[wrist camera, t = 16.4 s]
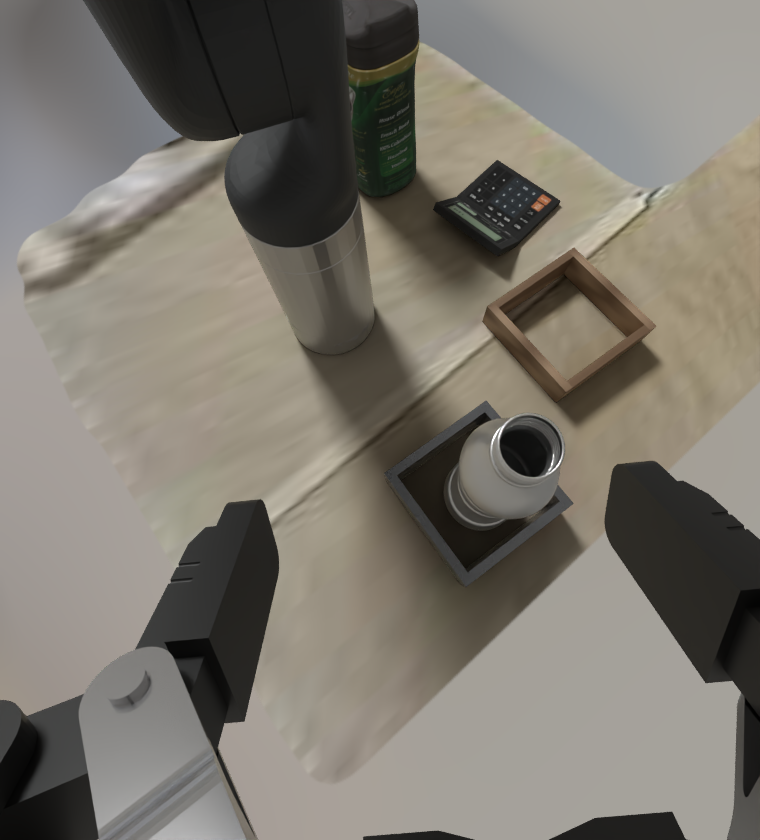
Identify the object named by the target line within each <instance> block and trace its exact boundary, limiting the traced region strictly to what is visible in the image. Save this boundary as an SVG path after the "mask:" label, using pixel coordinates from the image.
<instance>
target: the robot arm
mask: <svg viewBox="0 0 760 840" xmlns="http://www.w3.org/2000/svg"><path fill="white" fill-rule="evenodd" d="M83 1H84V2H85V4H86V6H87V7H88V8H89V10H90V12H91V13H92V15H93V16H94V18H95V20H96V21H97V23H98V25H99V26H100V28H101V29H102V31H103V33H104V34H105V36H106V37H107V39H108V41H109V42H110V44H111V45H112V47H113V48H114V50H115V52H116V53H117V55H118V57H119V58H120V60H121V61H122V63H123V64H124V66H125V67H126V69H127V70H128V72H129V73H130V75H131V76H132V78H133V79H134V81H135V82H136V84H137V85H138V87H139V89H140V90H141V91H142V93H143V95H144V96H145V97H146V99H147V100H148V101H149V103H150V104H151V105H152V107H153V108H154V109H155V110H156V112H157V113H158V114H159V115H160V116H161V117H162V118H163V120H165V121H166V122H167V123H168V124H169V125H170V126H171V127H172V128H173V129H174V130H175V131H177V132H178V133H179V134H181V135H182V136H184V137H186V138H188V139H191V140H195V141H218V140H225V139H229V138H233V137H237V136H239V134H240V133H241V134H242V135H244V134H245V135H244V136H243V137H242V138H241V139H240V140H239V141H238V143H237V144H236V145H235V147H234V148H233V150H232V152H231V154H230V156H229V158H228V161H227V164H226V168H225V176H224V178H225V188H226V193H227V196H228V199H229V201H230V204H231V206H232V208H233V210H234V212H235V214H236V216H237V218H238V220H239V222H240V224H241V226H242V228H243V230H244V232H245V234H246V236H247V238H248V240H249V242H250V244H251V246H252V248H253V250H254V252H255V254H256V256H257V258H258V260H259V262H260V264H261V266H262V268H263V270H264V272H265V274H266V276H267V278H268V280H269V282H270V284H271V286H272V288H273V290H274V292H275V294H276V296H277V298H278V301H279V303H280V305H281V307H282V309H283V311H284V313H285V315H286V317H287V319H288V321H289V323H290V325H291V327H292V329H293V331H294V333H295V335H296V337H297V338H298V340H299V341H300V342H301V343H302V344H303V345H304V346H305V347H306V348H308V349H310V350H312V351H314V352H317V353H320V354H328V355H333V354H341V353H344V352H347V351H350V350H352V349H354V348H355V347H357V346H358V345H359V344H361V343H362V342H363V341H364V340H365V339H366V337H367V336H368V335H369V333H370V331H371V329H372V327H373V323H374V304H373V297H372V288H371V280H370V272H369V265H368V257H367V250H366V242H365V234H364V227H363V219H362V213H361V205H360V197H359V190H358V181H357V174H356V161H355V152H354V143H353V134H352V122H351V110H350V95H349V78H348V61H347V46H346V34H345V24H344V13H343V3H342V0H83ZM605 529H606V534H607V537H608V539H609V542H610V543H611V546H612V547H613V549H614V550H615V551H616V553H617V554H618V556H619V557H620V559H621V560H622V562H623V563H624V564H625V566H626V568H627V569H628V571H629V572H630V573H631V575H632V576H633V578H634V579H635V581H636V582H637V584H638V585H639V587H640V588H641V589H642V591H643V592H644V594H645V595H646V597H647V598H648V600H649V601H650V602H651V604H652V605H653V607H654V608H655V610H656V611H657V613H658V614H659V615H660V617H661V619H662V620H663V622H664V623H665V624H666V626H667V627H668V629H669V630H670V632H671V633H672V635H673V636H674V637H675V639H676V640H677V642H678V643H679V645H680V646H681V648H682V649H683V651H684V652H685V654H686V655H687V657H688V658H689V659H690V661H691V662H692V664H693V665H694V667H695V668H696V670H697V671H698V673H699V674H700V676H701V677H702V678H703V680H704V681H705V683H713V682H724V681H733V682H734V683H735V685H736V686H737V687H738V689H739V690H740V691H741V695H740V697H739V700H738V704H737V729H736V731H737V732H736V761H735V792H734V793H735V794H734V810H733V816H732V821H731V826H730V829H729V833H728V837H727V840H760V539H758V538H757V537H756V536H755V535H754V534H753V533H752V532H750V531H749V530H748V529H746V530H745V529H744V525H743V524H741V523H740V522H739V521H738V520H737V519H736V518H735V517H734V516H733V515H729V514H728V511H727V510H726V509H725V508H724V507H723V506H721V505H720V504H719V503H718V502H717V501H716V500H714V498H712V497H711V496H710V495H709V494H707V493H705V492H704V491H702V490H699V489H698V488H696V487H694V486H692V485H690V484H688V483H686V482H684V481H676V480H675V479H674V478H673V477H672V476H671V475H670V474H669V473H668V472H667V471H666V470H665V469H664V468H663V467H662V466H661V465H659V464H658V463H657V462H655V461H645V462H635V463H625V464H617V465H616V466H615V467H614V468H613V471H612V476H611V482H610V488H609V494H608V500H607V507H606V513H605ZM278 573H279V556H278V550H277V546H276V542H275V539H274V535H273V531H272V528H271V524H270V521H269V517H268V514H267V510H266V507H265V504H264V502H263V501H262V500H261V499H260V500H250V501H240V502H230V503H227V505H226V506H225V508H224V510H223V512H222V515H221V517H220V519H219V521H218V523H217V526H213V527H205V528H204V529H203V530H202V531H201V532H200V533H199V534H198V535H197V536H196V537H195V538H194V539H193V540H192V541H191V542H190V543H189V544H188V546H187V548H186V550H185V552H184V554H183V556H182V558H181V560H180V562H179V567H177V568H176V570H175V572H174V574H173V576H172V578H171V583H170V584H168V586H167V588H166V590H165V592H164V593H163V596H162V597H161V600H160V602H159V603H158V605H157V608H156V609H155V612H154V613H153V615H152V617H151V619H150V621H149V623H148V625H147V627H146V629H145V631H144V633H143V635H142V637H141V639H140V641H139V643H138V645H137V647H136V649H135V650H133V651H131V652H128V653H126V654H125V655H122V656H121V657H119V658H117V659H116V660H115V661H113V662H111V663H110V664H109V665H108V666H106V667H105V668H104V669H103V670H102V671H101V672H100V673H99V674H98V675H97V676H96V678H95V679H94V680H93V681H92V682H91V684H90V685H89V687H88V688H87V690H86V692H85V693H84V694H83V695H80V696H78V697H75V698H73V699H71V700H68V701H65V702H62V703H60V704H57V705H55V706H52V707H49V708H47V709H44V710H42V711H39V712H37V713H34V714H31V715H29V716H26V715H25V714H24V713H23V712H22V711H21V709H20V708H19V707H18V706H17V705H16V704H15V703H13V702H11V701H6V700H0V840H97V839H99V840H258V838H257V836H256V834H255V831H254V829H253V827H252V824H251V822H250V820H249V818H248V815H247V813H246V811H245V808H244V806H243V803H242V801H241V799H240V796H239V794H238V792H237V790H236V787H235V785H234V783H233V780H232V778H231V776H230V773H229V771H228V769H227V766H226V764H225V762H224V759H223V757H222V755H221V753H220V750H219V748H218V744H219V741H220V737H221V733H222V730H223V726H224V723H232V722H244V721H245V717H246V712H247V708H248V703H249V699H250V695H251V690H252V687H253V682H254V678H255V674H256V669H257V665H258V661H259V656H260V652H261V648H262V643H263V639H264V635H265V630H266V626H267V622H268V617H269V613H270V609H271V605H272V600H273V596H274V592H275V587H276V583H277V579H278ZM363 840H473V839H469V838H465V837H461V836H457V835H454V834H449V833H446V832H441V831H427V832H415V833H402V834H390V835H377V836H366V837H363ZM549 840H686V839H685V837H684V835H683V833H682V831H681V829H680V827H679V825H678V823H677V821H676V819H675V817H674V815H673V813H672V812H664V813H652V814H638V815H626V816H614V817H601V818H594V819H592V820H590V821H588V822H586V823H583V824H582V825H579V826H577V827H575V828H573V829H571V830H569V831H566V832H564V833H562V834H560V835H558V836H556V837H554V838H552V839H549Z"/></svg>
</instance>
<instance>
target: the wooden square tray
mask: <svg viewBox="0 0 760 840" xmlns="http://www.w3.org/2000/svg"><path fill="white" fill-rule="evenodd" d="M563 274H564V275H565V276H566V277H567V278H568V279H569V280H570V281H571V282H572V283H573V284H574V285H575V286H576V287H577V288H578V289H579V290H580V291H581V292H582V293H583V294H585V295H586V296H587V297H588V298H589V299H590V300H591V301H592V302H593V303H594V304H595V305H596V306H597V307H598V308H599V309H600V310H601V311H602V312H603V313H604V314H605V315H606V316H607V317H608V318H609V319H610V320H611V321H612V322H613V323H614V324H615V325H616V326H617V327H618V328H619V329H620V330H621V331H622V332H623V333H624V334H625V335H626V336H627V338H626V339H624V340H623V341H621V342H620V343H619V344H617V345H616V346H615V347H613V348H612V349H610V350H609V351H608V352H606V353H605V354H604V355H602V356H601V357H599V358H598V359H597V360H595V361H594V362H593V363H591V364H590V365H588V366H587V367H586V368H584V369H583V370H582V371H580V372H579V373H577V374H576V375H575V376H573V377H572V378H571V379H569V380H568V381H566V380H565V379H564V378H563V376H562V375H561V374H560V373H559V372H558V371H557V370H556V369H555V368H554V367H553V366H552V365H551V364H550V362H549V361H548V360H547V359H546V358H545V357H544V356H543V355H542V354H541V353H540V352H539V351H538V350H537V348H536V347H535V346H534V345H533V344H532V343H531V342H530V341H529V340H528V339H527V338H526V337H525V336H524V334H523V333H522V332H521V331H520V330H519V329H518V328H517V327H516V326H515V325H514V324H513V323H512V322H511V321H510V319H509V318H508V317H507V316H506V315H505V314H506V313H508V312H509V311H511V310H512V309H514V308H515V307H517V306H518V305H520V304H521V303H522V302H524V301H525V300H527V299H528V298H530V297H531V296H533V295H534V294H536V293H537V292H538V291H540V290H541V289H543V288H544V287H546V286H547V285H549V284H550V283H552V282H553V281H555V280H556V279H557V278H559V277H560V276H562V275H563ZM483 323H484V324H485V325H486V326H487V327H488V328H489V329H490V330H491V331H492V332H493V334H494V335H495V336H496V337H497V338H498V339H499V340H500V341H501V342H502V344H503V345H504V346H505V347H506V348H507V349H508V350H509V351H510V352H511V353H512V355H513V356H514V357H515V358H516V359H517V360H518V361H519V362H520V363H521V365H522V366H523V367H524V368H525V369H526V370H527V371H528V372H529V373H530V375H531V376H532V377H533V378H534V379H535V380H536V381H537V382H538V383H539V384H540V386H541V387H542V388H543V389H544V390H545V391H546V392H547V393H548V394H549V396H550V397H551V398H552V399H553V400H554V401H555V402H556V403H557V402H558V401H559V400H561V399H562V398H563V397H565V396H566V395H568V394H569V393H570V392H572V391H573V390H574V389H576V388H577V387H578V386H580V385H581V384H583V383H584V382H585V381H587V380H588V379H589V378H591V377H592V376H593V375H595V374H596V373H598V372H599V371H600V370H602V369H603V368H604V367H606V366H607V365H608V364H610V363H611V362H613V361H614V360H615V359H617V358H618V357H619V356H621V355H622V354H624V353H625V352H626V351H628V350H629V349H630V348H632V347H633V346H634V345H636V344H637V343H639V342H640V341H641V340H642V339H643V338H644V337H646V336H647V335H648V334H649V333H650V332H651V331H652V330H653V329H654V328H655V327H656V325H655V324H654V323H653V322H652V321H651V320H650V319H649V318H648V317H647V316H646V315H644V314H643V313H642V312H641V311H640V310H639V309H638V308H637V307H636V306H635V305H634V304H633V303H632V302H631V301H630V300H629V299H628V298H627V297H626V296H624V295H623V294H622V293H621V292H620V291H619V290H618V289H617V288H616V287H615V286H614V285H613V284H612V283H611V282H610V281H609V280H608V279H607V278H606V277H604V276H603V275H602V274H601V273H600V272H599V271H598V270H597V269H596V268H595V267H594V266H593V265H592V264H591V263H590V262H589V261H588V260H587V259H586V258H584V257H583V256H582V255H581V254H580V253H579V252H578V251H577V250H576V249H575V248H572V249H571V250H570V251H568V252H567V253H565V254H564V255H562V256H561V257H559V258H558V259H556V260H555V261H553V262H552V263H550V264H549V265H547V266H546V267H544V268H543V269H542V270H540V271H539V272H537V273H536V274H534V275H533V276H531V277H530V278H528V279H527V280H525V281H524V282H522V283H521V284H519V285H518V286H516V287H515V288H514V289H512V290H511V291H509V292H508V293H506V294H505V295H503V296H502V297H500V298H499V299H497V300H496V301H494V302H493V303H491V304H490V305H488V306H487V309H486V312H485V315H484V318H483Z"/></svg>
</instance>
